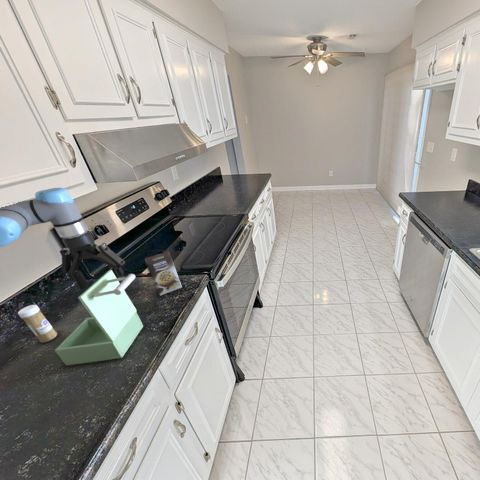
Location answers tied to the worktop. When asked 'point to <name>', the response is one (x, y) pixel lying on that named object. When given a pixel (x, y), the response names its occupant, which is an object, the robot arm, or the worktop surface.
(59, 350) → the green storage bin
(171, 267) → the coffee box
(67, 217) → the robot arm
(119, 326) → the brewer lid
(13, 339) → the worktop surface
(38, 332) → the sprinkles bottle
